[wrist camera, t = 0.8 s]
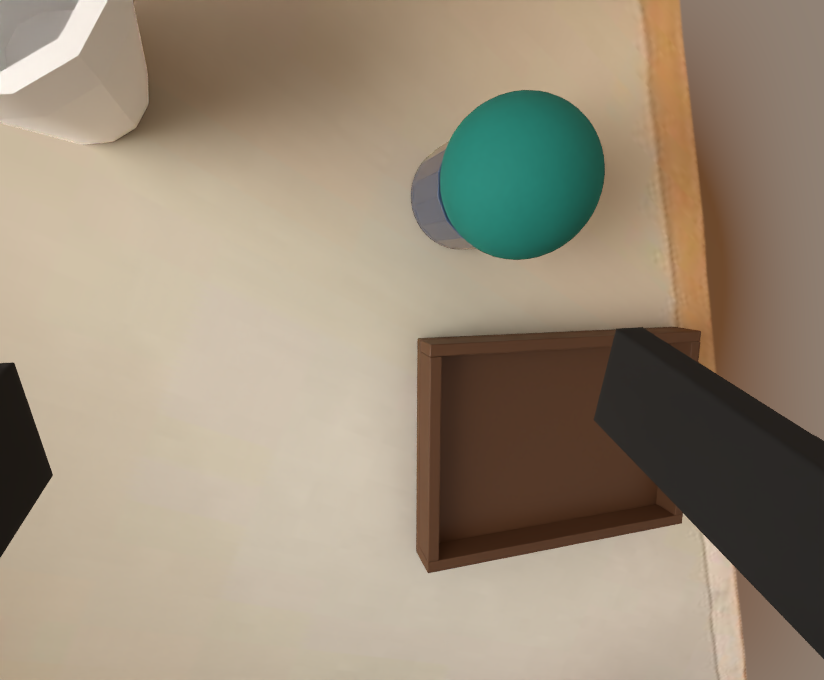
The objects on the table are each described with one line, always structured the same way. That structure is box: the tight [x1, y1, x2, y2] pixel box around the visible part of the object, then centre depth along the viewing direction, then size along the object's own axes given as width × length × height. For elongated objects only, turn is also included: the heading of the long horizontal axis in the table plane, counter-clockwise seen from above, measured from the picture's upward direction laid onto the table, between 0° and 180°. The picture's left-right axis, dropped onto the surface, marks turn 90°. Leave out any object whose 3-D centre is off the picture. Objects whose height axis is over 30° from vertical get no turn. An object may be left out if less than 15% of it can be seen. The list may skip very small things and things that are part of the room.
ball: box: [440, 90, 605, 260], centre depth 24 cm, size 8×8×8 cm
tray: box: [416, 327, 701, 573], centre depth 36 cm, size 16×22×3 cm
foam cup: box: [0, 0, 149, 145], centre depth 19 cm, size 10×9×13 cm
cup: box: [411, 141, 477, 249], centre depth 29 cm, size 7×7×5 cm
